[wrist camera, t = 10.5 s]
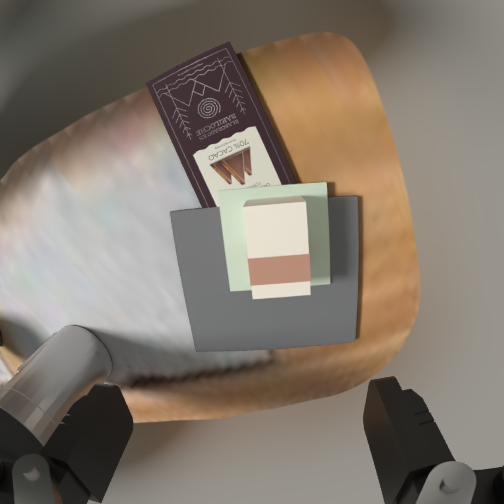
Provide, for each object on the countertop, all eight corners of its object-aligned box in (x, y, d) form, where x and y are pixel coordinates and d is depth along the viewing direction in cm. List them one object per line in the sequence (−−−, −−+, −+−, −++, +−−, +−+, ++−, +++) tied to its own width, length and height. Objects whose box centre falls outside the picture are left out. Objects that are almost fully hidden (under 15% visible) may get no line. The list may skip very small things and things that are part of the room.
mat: (197, 348, 35) (195, 353, 34) (169, 196, 30) (166, 197, 29) (353, 338, 33) (355, 342, 32) (355, 180, 28) (357, 180, 27)
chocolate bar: (229, 41, 24) (307, 209, 29) (230, 44, 25) (306, 207, 30) (145, 83, 26) (220, 245, 30) (149, 85, 27) (221, 242, 31)
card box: (245, 200, 28) (241, 206, 24) (301, 195, 28) (306, 201, 24) (254, 281, 31) (252, 299, 27) (306, 277, 30) (311, 295, 26)
